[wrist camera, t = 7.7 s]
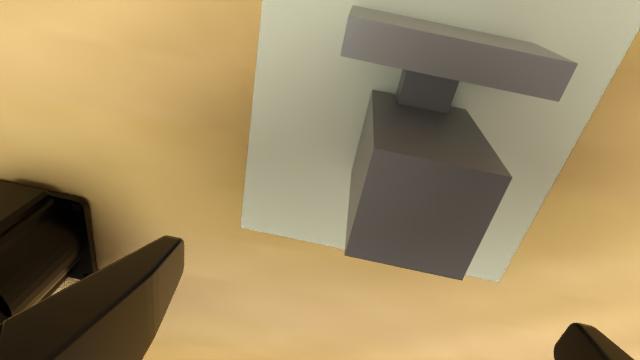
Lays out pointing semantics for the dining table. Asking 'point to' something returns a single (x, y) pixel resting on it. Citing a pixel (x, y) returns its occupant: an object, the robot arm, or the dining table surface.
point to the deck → (362, 77)
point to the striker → (433, 139)
